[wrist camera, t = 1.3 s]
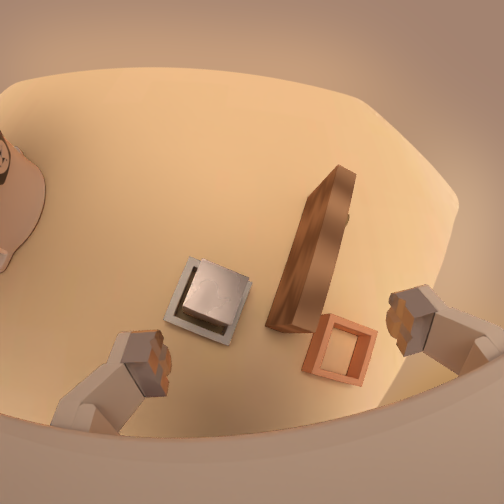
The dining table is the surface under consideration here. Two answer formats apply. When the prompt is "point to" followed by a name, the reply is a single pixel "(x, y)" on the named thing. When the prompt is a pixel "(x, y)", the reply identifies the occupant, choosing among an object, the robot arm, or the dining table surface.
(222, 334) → the frame
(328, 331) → the frame
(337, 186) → the door panel
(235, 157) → the dining table surface
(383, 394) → the dining table surface
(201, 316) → the bar
